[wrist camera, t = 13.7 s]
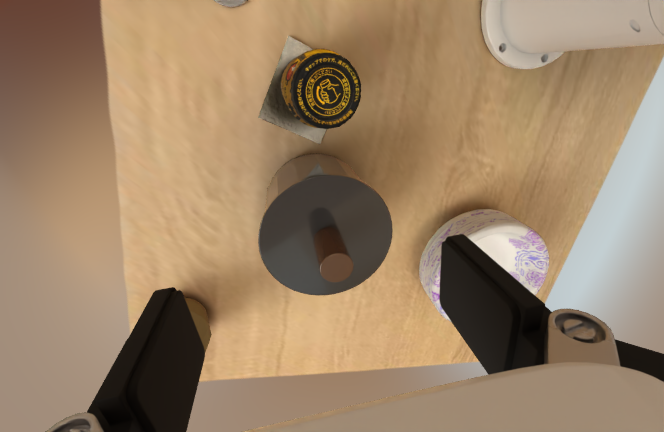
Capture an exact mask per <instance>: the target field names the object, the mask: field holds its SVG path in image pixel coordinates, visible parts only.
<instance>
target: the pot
mask: <svg viewBox="0 0 664 432" xmlns="http://www.w3.org/2000/svg"><path fill="white" fill-rule="evenodd" d="M325 173H334V174H343V175H348V176H351V177H354V178H357V179H359V180H361V179H360V178H359V176H358V175H357V174H356V173H355V172H354V170H353V169H352V168H351V167H350V166H349V165H347V164H346V163H344V162H343V161H341V160H340V159H338V158H336V157H333V156H330V155H325V154H307V155H302V156H299V157H296V158H294V159H292V160H290V161H289V162H287V163H286V164H285V165H283V166H282V167H281V168H280V169H279V170H278V171H277V172H276V174H275V175H274V177H273V178H272V180H271V182H270V184H269V186H268V188H267V196H266V207H265V211H266V209H267V207H268V206H269V204H270V203H271V201H272V200H273V199H274V198H275V197H276V196H277V195H278V194H279V193H280V192H281V191H282V190H283V189H285V188H286V187H287V186H289V185H291V184H292V183H294V182H296V181H298V180H300V179H302V178H305V177H308V176H312V175H317V174H325ZM361 181H362V180H361Z"/></svg>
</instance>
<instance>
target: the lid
mask: <svg viewBox="0 0 664 432" xmlns="http://www.w3.org/2000/svg"><path fill="white" fill-rule="evenodd" d="M391 239H392V221H391V216H390V213H389V210H388V208H387V206H386V204H385V203H384V201H383V199H382V198H381V197H380V196H379V194H378V193H377V192H376V191H375V190H374V189H373V188H371V187H370V186H369V185H367V184H366V183H364V182H363V181H361V180H359V179H357V178H354V177H351V176H348V175H343V174H334V173H325V174H317V175H312V176H308V177H305V178H302V179H300V180H298V181H296V182H294V183H292V184H291V185H289V186H287V187H286V188H285V189H283V190H282V191H281V192H280V193H279V194H278V195H277V196H276V197H275V198H274V199H273V200H272V201H271V203H270V204H269V206H268V207H267V209H266V211H265V213H264V215H263V217H262V220H261V223H260V228H259V238H258V244H259V251H260V254H261V258H262V260H263V262H264V264H265V266H266V268H267V269H268V271H269V272H270V273H271V274H272V276H273V277H274V278H275V279H277V280H278V281H279V282H280V283H281V284H283V285H285V286H286V287H288V288H290V289H292V290H294V291H297V292H300V293H304V294H309V295H330V294H336V293H340V292H343V291H346V290H349V289H351V288H353V287H355V286H357V285H359V284H361V283H362V282H364V281H365V280H366V279H368V278H369V277H370V276H371V275H372V274H373V273H374V272H375V271H376V270H377V269H378V268H379V266H380V265H381V264H382V262H383V261H384V259H385V257H386V255H387V253H388V250H389V247H390V244H391Z"/></svg>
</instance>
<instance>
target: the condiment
mask: <svg viewBox="0 0 664 432" xmlns="http://www.w3.org/2000/svg"><path fill="white" fill-rule="evenodd" d="M360 98H361V83H360V79H359V76H358V74H357V72H356V70H355V68H354V67H353V66H352V65H351V63H350V62H349V61H348V60H347V59H345V58H343V57H342V56H341V55H339V54H338V53H336V52H334V51H330V50H327V49H312V48H310V47H308V46H306V45H305V44H303V43H301V42H299V41H297V40H295V39H293V38H292V37H290V36H288V38H287V41H286V43H285V46H284V49H283V52H282V54H281V57H280V60H279V62H278V65H277V68H276V71H275V73H274V76H273V79H272V81H271V84H270V87H269V90H268V92H267V95H266V98H265V100H264V103H263V106H262V109H261V111H260V114H259V117H258V118H261V119H263V120H266V121H268V122H270V123H273V124H275V125H277V126H279V127H282V128H284V129H286V130H289V131H291V132H293V133H296V134H298V135H300V136H302V137H304V138H307V139H309V140H311V141H314V142H316V143H318V144H320V143H321V141H322V139H323V137H324V134H325V132H326V130H327V129H329V128H334V127H340V126H341V125H342V124H344V123H346V121H348V120H349V119H350V118H351V117H352V116H353V114H354V113H355V111H356V109H357V107H358V105H359V102H360Z"/></svg>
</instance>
